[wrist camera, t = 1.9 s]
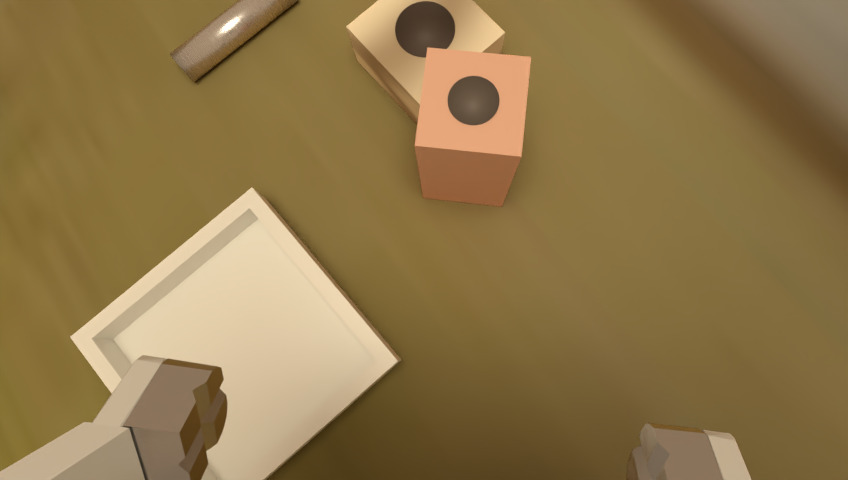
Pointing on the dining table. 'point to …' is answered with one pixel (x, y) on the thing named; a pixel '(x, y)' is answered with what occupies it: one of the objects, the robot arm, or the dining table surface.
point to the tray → (247, 335)
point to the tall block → (471, 124)
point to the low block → (417, 41)
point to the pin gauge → (226, 34)
